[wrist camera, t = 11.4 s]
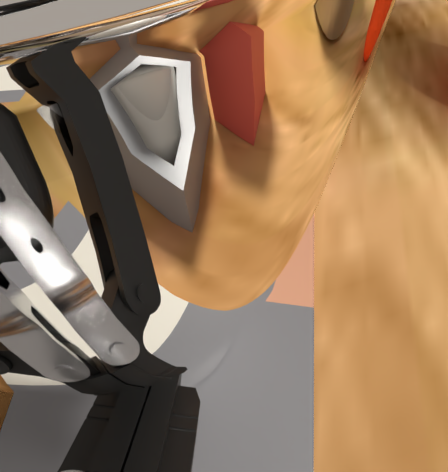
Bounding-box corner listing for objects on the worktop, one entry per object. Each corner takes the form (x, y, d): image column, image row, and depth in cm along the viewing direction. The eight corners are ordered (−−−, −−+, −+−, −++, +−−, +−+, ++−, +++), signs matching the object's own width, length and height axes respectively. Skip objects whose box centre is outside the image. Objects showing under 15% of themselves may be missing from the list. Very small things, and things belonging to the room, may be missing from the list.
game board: (312, 145, 21) (314, 141, 20) (306, 1049, 8) (311, 1078, 8) (114, 120, 21) (112, 115, 20) (-185, 974, 8) (-203, 1000, 8)
